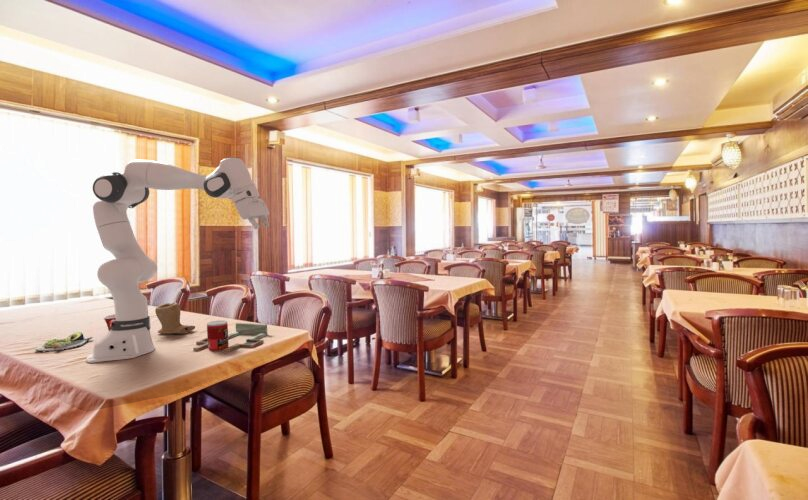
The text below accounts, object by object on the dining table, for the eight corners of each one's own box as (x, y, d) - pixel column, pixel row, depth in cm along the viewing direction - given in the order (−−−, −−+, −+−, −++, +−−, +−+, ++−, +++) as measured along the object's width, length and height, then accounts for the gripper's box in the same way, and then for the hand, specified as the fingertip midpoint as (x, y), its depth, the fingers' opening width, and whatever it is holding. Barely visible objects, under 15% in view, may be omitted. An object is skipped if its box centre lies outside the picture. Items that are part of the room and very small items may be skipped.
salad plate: (80, 350, 169) (80, 340, 168) (26, 356, 162) (25, 345, 161) (95, 339, 186) (95, 329, 186) (47, 344, 179) (46, 334, 179)
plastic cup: (114, 337, 188) (112, 312, 187) (138, 336, 189) (136, 311, 188) (98, 343, 177) (96, 317, 177) (124, 342, 178) (122, 316, 177)
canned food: (221, 351, 161) (219, 324, 160) (203, 350, 162) (202, 324, 162) (232, 346, 168) (231, 320, 168) (216, 345, 170) (214, 320, 169)
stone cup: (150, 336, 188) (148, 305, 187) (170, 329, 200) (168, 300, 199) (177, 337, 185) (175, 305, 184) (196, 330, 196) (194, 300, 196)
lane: (239, 354, 157) (238, 341, 157) (181, 350, 164) (180, 338, 164) (278, 335, 184) (278, 324, 183) (227, 332, 191) (227, 322, 191)
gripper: (251, 199, 169) (265, 228, 170) (228, 199, 148) (244, 232, 150) (264, 193, 168) (278, 223, 169) (243, 192, 148) (259, 226, 149)
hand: (262, 227), depth 159 cm, fingers open, 8 cm apart
